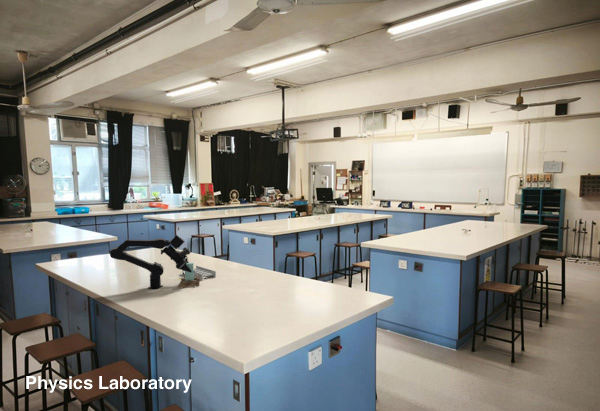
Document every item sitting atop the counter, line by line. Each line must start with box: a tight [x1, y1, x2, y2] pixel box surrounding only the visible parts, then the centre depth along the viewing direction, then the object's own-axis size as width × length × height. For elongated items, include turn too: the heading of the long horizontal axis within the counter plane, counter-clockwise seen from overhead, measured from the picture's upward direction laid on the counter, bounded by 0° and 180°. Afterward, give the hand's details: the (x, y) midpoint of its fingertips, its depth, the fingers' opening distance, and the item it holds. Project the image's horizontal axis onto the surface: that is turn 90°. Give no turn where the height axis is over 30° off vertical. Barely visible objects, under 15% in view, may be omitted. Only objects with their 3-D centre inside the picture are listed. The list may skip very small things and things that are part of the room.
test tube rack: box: [182, 265, 217, 281], centre depth 243 cm, size 25×4×13 cm
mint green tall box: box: [184, 262, 195, 281], centre depth 220 cm, size 6×4×12 cm, turn 105°
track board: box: [178, 276, 201, 289], centre depth 220 cm, size 12×10×4 cm
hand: (191, 270), depth 220 cm, fingers open, 9 cm apart
